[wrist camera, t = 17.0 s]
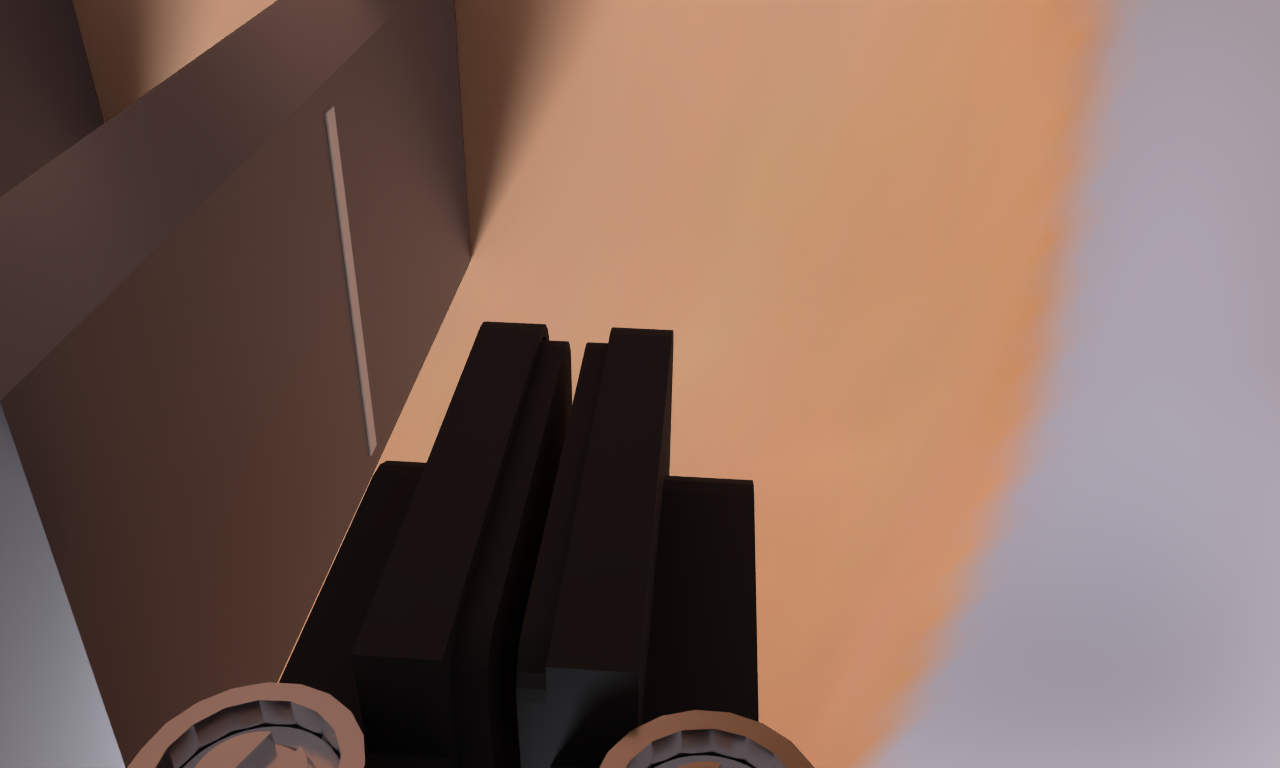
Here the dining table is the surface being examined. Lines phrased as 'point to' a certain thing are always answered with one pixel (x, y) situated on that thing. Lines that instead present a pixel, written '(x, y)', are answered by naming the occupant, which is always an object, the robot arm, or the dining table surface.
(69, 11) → the domino
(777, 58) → the dining table surface
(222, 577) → the domino
